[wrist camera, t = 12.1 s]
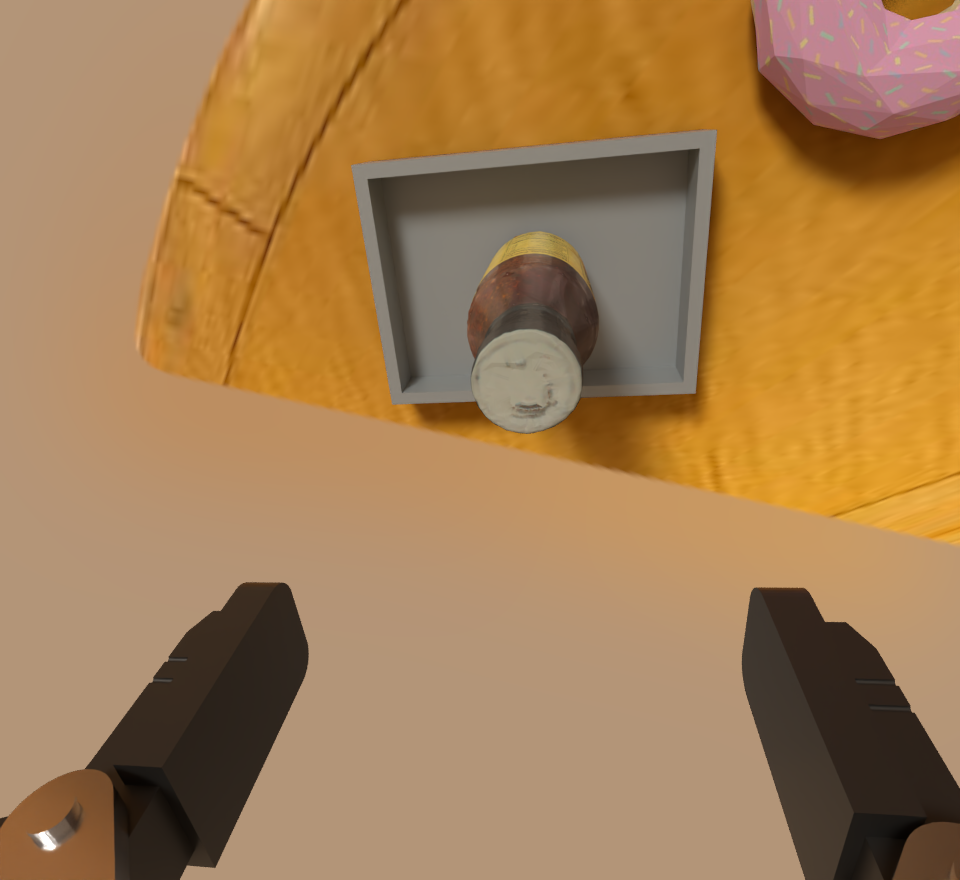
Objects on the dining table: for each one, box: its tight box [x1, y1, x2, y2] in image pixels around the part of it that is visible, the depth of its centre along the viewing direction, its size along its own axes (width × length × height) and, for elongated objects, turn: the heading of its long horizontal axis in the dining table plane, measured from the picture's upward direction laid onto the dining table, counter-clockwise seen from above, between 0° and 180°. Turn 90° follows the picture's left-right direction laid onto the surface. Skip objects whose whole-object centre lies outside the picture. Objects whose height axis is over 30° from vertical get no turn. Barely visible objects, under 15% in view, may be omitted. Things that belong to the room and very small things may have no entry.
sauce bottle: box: [467, 231, 599, 434], centre depth 30 cm, size 6×6×20 cm
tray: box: [351, 129, 717, 404], centre depth 38 cm, size 20×15×4 cm
